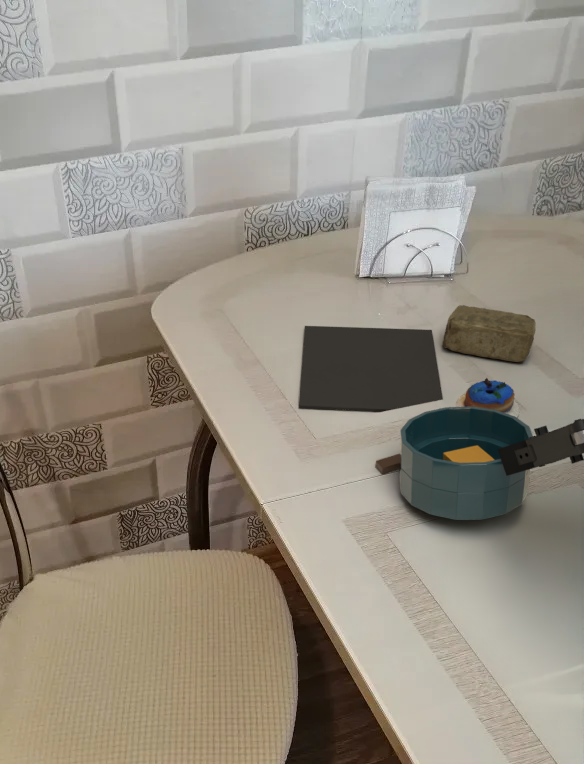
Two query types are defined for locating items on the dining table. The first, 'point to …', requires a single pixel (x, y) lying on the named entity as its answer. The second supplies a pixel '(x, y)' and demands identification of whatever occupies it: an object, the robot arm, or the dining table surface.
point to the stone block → (489, 333)
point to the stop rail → (388, 464)
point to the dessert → (490, 397)
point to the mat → (368, 369)
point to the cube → (467, 455)
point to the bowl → (461, 480)
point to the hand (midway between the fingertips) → (508, 460)
